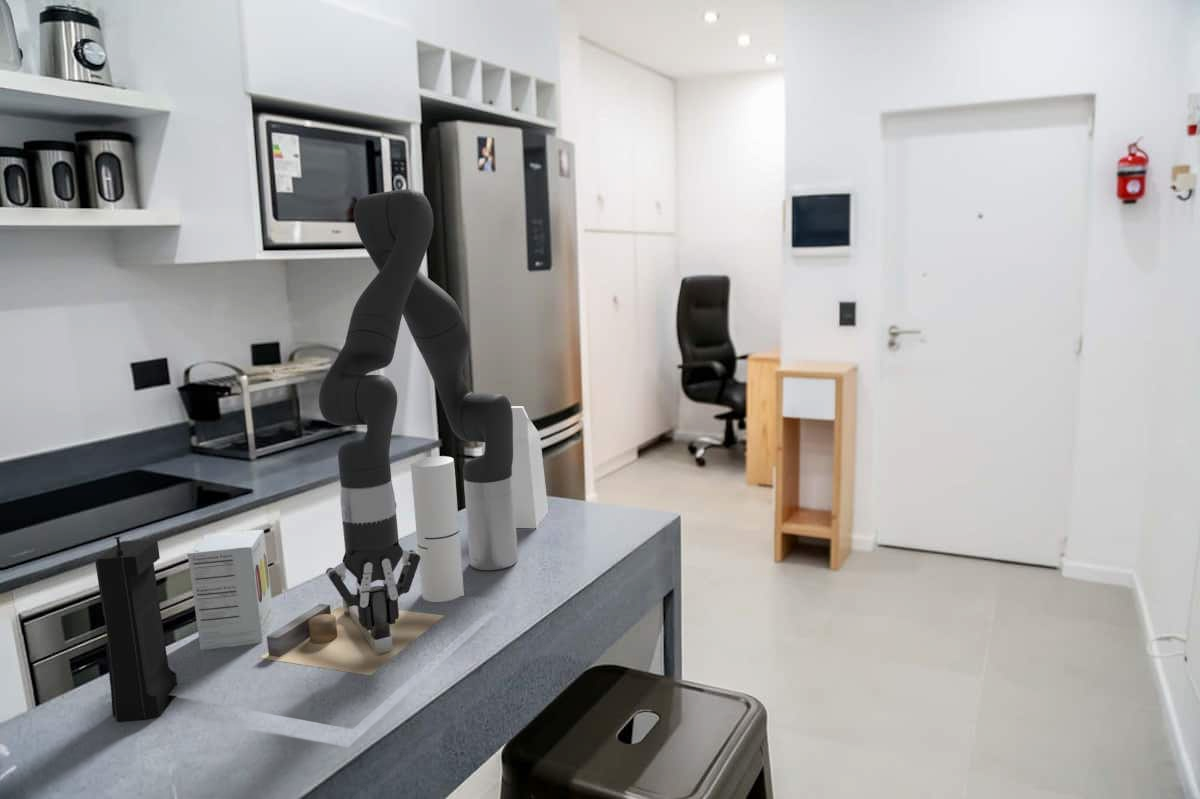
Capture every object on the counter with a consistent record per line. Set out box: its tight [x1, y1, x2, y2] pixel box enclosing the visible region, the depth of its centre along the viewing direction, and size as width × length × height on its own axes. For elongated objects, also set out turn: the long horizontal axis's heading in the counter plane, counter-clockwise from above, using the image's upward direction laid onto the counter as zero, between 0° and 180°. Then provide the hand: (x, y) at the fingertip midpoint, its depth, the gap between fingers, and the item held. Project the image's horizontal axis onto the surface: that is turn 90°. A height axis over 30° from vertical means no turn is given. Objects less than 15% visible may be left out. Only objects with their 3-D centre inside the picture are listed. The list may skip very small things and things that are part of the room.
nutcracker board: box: [259, 603, 445, 676], centre depth 128 cm, size 20×20×4 cm
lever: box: [342, 585, 393, 654], centre depth 128 cm, size 19×4×9 cm, turn 30°
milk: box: [481, 405, 549, 529], centre depth 184 cm, size 12×12×26 cm
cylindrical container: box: [410, 455, 465, 603], centre depth 141 cm, size 7×7×25 cm
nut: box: [309, 614, 337, 644], centre depth 127 cm, size 4×4×3 cm
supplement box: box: [187, 529, 275, 650], centre depth 129 cm, size 10×9×17 cm
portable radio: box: [95, 536, 178, 722], centre depth 111 cm, size 8×6×25 cm
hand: (379, 624), depth 122 cm, fingers closed on lever, 3 cm apart
